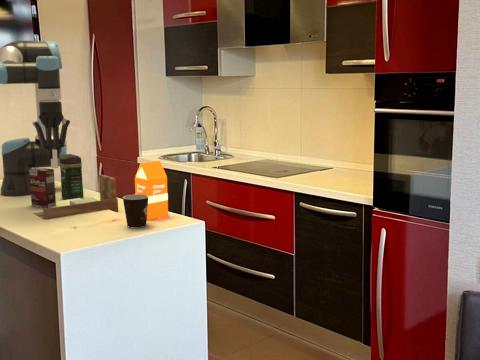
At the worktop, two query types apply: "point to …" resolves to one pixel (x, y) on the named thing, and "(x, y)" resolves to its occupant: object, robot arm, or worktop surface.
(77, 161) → the coffee jar
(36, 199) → the supplement box
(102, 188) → the shelf
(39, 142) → the robot arm
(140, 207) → the coffee mug
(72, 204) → the bookend
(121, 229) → the worktop surface
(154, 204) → the orange juice
